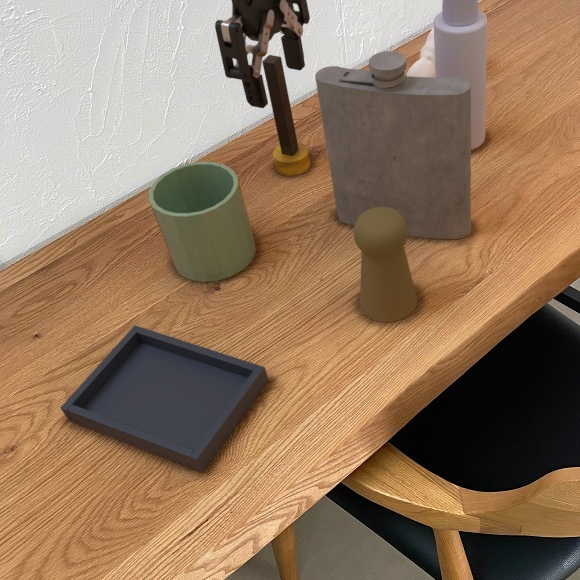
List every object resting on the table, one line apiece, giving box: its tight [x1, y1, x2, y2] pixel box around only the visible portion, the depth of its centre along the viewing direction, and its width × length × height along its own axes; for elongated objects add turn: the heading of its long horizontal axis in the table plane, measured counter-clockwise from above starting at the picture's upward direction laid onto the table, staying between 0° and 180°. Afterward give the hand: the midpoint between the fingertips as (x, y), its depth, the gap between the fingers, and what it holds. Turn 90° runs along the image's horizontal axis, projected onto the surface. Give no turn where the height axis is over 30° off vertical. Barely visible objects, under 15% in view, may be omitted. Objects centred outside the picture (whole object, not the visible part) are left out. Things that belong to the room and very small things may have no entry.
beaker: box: [148, 161, 257, 283], centre depth 87 cm, size 9×9×9 cm
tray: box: [59, 325, 270, 473], centre depth 76 cm, size 16×12×2 cm
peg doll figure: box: [353, 207, 418, 323], centre depth 79 cm, size 6×6×11 cm
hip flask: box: [314, 50, 472, 240], centre depth 84 cm, size 16×4×20 cm, turn 73°
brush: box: [262, 54, 311, 177], centre depth 95 cm, size 4×4×14 cm
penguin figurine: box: [406, 25, 436, 78], centre depth 107 cm, size 6×8×12 cm
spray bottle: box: [433, 0, 488, 151], centre depth 93 cm, size 6×6×22 cm
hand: (277, 86), depth 92 cm, fingers open, 8 cm apart
